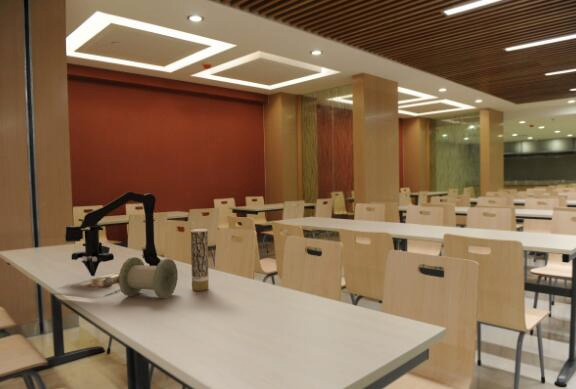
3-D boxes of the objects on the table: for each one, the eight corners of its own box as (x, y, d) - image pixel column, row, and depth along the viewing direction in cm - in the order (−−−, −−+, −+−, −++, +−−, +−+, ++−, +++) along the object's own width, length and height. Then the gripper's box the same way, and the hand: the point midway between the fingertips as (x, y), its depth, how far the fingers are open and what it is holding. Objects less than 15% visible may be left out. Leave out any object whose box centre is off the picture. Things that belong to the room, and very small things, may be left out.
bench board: (132, 283, 191) (132, 272, 190) (108, 292, 177) (107, 280, 176) (97, 280, 197) (97, 269, 197) (71, 288, 183) (70, 276, 183)
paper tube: (204, 291, 175) (203, 231, 174) (189, 291, 176) (188, 230, 175) (211, 287, 182) (210, 229, 181) (196, 287, 183) (194, 228, 182)
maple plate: (121, 280, 190) (120, 275, 190) (102, 286, 180) (102, 280, 180) (110, 279, 192) (110, 274, 192) (91, 285, 182) (91, 279, 182)
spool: (177, 292, 175) (177, 256, 174) (157, 303, 160) (156, 263, 160) (142, 290, 179) (141, 254, 179) (119, 300, 165) (118, 261, 164)
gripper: (122, 239, 192) (123, 273, 193) (89, 237, 199) (90, 270, 199) (103, 242, 182) (104, 279, 182) (70, 240, 188) (71, 276, 189)
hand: (93, 275), depth 188 cm, fingers closed
